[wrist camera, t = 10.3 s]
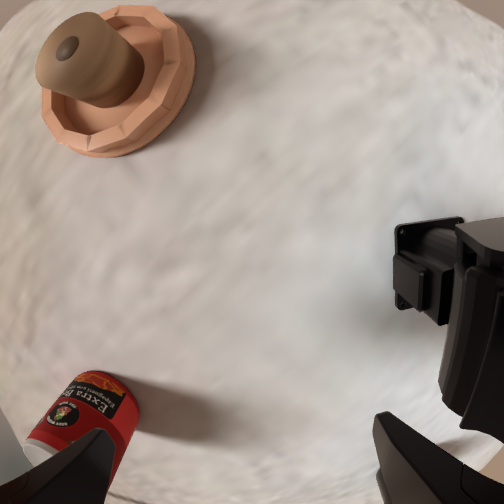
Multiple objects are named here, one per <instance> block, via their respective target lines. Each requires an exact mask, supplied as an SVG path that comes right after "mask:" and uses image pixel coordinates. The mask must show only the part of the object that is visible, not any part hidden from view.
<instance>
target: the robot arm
mask: <svg viewBox="0 0 504 504" xmlns="http://www.w3.org/2000/svg"><path fill="white" fill-rule="evenodd" d="M458 221H459V224H458ZM401 229H403V233H402V234H401V235H400V230H401ZM394 235H395V255H394V257H393V289H394V290H395V306H396V307H397V308H398V309H399V310H405V309H409V308H413V307H414V308H415V309H416V310H417V311H418V312H424V313H425V314H427V315H428V316H429V317H430V318H431V319H432V320H433V321H434V322H435V323H436V324H437V325H439V326H442V325H445V324H447V325H448V330H447V336H446V342H445V347H444V352H443V357H442V362H441V366H440V371H439V378H438V383H439V386H440V389H441V393H442V394H443V396H442V401H443V402H444V403H445V404H446V406H447V407H448V408H449V409H451V410H452V411H453V412H455V413H456V414H458V415H459V416H461V417H463V418H462V420H461V423H460V425H459V427H460V428H461V429H467V430H477V431H480V432H483V433H486V434H489V435H491V436H493V437H495V438H496V439H498V440H499V441H501V442H502V443H504V217H501V218H494V219H488V220H481V221H475V222H468V223H464V220H463V218H462V217H458V216H456V217H449V218H442V219H434V220H427V221H420V222H413V223H406V224H399V225H397V226H396V228H395V231H394ZM402 301H403V304H402V305H400V303H401V302H402ZM373 438H374V442H375V446H376V451H377V455H378V459H379V464H380V468H381V472H382V475H383V478H384V481H385V484H386V486H387V489H388V492H389V494H390V497H391V500H392V503H393V504H504V484H501V483H498V482H497V481H494V480H492V479H490V478H488V477H486V476H484V475H482V474H480V473H479V472H477V471H475V470H474V469H472V468H470V467H469V466H467V465H466V464H463V463H462V462H461V461H459V460H458V459H456V458H455V457H453V456H452V455H450V454H449V453H447V452H446V451H444V450H443V449H441V448H440V447H438V446H437V445H435V444H434V443H433V442H431V441H430V440H428V439H427V438H425V437H424V436H422V435H421V434H420V433H418V432H417V431H415V430H414V429H412V428H411V427H410V426H408V425H407V424H405V423H404V422H403V421H401V420H400V419H398V418H397V417H396V416H394V415H393V414H392V413H390V412H388V411H385V412H382V413H378V414H376V415H375V418H374V424H373ZM115 450H116V446H115V443H114V441H113V440H112V438H111V437H110V435H109V434H108V432H107V431H106V430H105V429H101V428H94V429H92V430H91V431H89V432H88V433H87V434H85V435H84V436H82V437H81V438H79V439H78V440H76V441H75V442H73V443H72V444H70V445H69V446H67V447H66V448H64V449H63V450H61V451H59V452H58V453H56V454H55V455H53V456H52V457H50V458H49V459H47V460H45V461H44V462H42V463H41V464H39V465H37V466H36V467H34V468H33V469H31V470H30V471H28V472H26V473H24V474H23V475H21V476H19V477H18V478H16V479H14V480H12V481H10V482H8V483H6V484H3V485H1V486H0V504H104V501H105V497H106V494H107V490H108V487H109V483H110V478H111V473H112V467H113V461H114V456H115Z"/></svg>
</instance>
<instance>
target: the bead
mask: <svg viewBox="0 0 504 504" xmlns="http://www.w3.org/2000/svg"><path fill="white" fill-rule="evenodd" d="M144 70H145V64H144V60H143V57H142V55H141V54H140V53H139V52H138V51H137V50H136V49H135V48H134V47H133V46H132V45H131V44H130V43H129V42H128V41H127V40H126V39H125V38H123V37H122V36H121V35H120V34H119V33H118V32H117V31H116V30H115V29H114V28H113V27H112V26H111V25H109V24H108V23H107V22H106V21H105V20H104V19H103V18H102V17H101V16H99V15H98V14H96V13H92V12H85V13H80V14H77V15H75V16H73V17H71V18H69V19H67V20H66V21H64V22H63V23H62V24H60V25H59V26H58V27H57V28H56V29H55V30H54V31H53V32H52V33H51V34H50V36H49V37H48V38H47V40H46V41H45V43H44V44H43V46H42V48H41V50H40V53H39V55H38V58H37V62H36V69H35V72H36V78H37V81H38V83H39V84H40V85H41V86H42V87H44V88H46V89H49V90H52V91H54V92H57V93H60V94H63V95H66V96H69V97H71V98H74V99H77V100H80V101H82V102H85V103H87V104H90V105H93V106H95V107H98V108H103V109H104V108H112V107H115V106H117V105H120V104H121V103H123V102H124V101H126V100H127V99H128V98H130V97H131V96H132V95H133V93H134V92H135V91H136V90H137V88H138V87H139V85H140V83H141V81H142V78H143V75H144Z"/></svg>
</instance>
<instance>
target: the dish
mask: <svg viewBox="0 0 504 504" xmlns="http://www.w3.org/2000/svg"><path fill="white" fill-rule="evenodd" d="M99 16H101V17H102V18H103V19H104V20H105V21H106V22H107V23H108V24H109V25H111V26H112V27H113V28H114V29H115V30H116V31H117V32H118V33H119V34H120V35H121V36H122V37H123V38H125V39H126V40H127V41H128V42H129V43H130V44H131V45H132V46H133V47H134V48H135V49H136V50H137V51H138V52H139V53H140V54H141V55H142V57H143V60H144V64H145V70H144V75H143V78H142V81H141V83H140V85H139V87H138V88H137V90H136V91H135V92H134V93H133V95H132V96H131V97H130V98H128V99H127V100H126V101H124V102H123V103H121V104H120V105H117V106H115V107H112V108H104V109H103V108H98V107H95V106H93V105H90V104H87V103H85V102H82V101H80V100H77V99H74V98H71V97H69V96H66V95H63V94H60V93H57V92H54V91H52V90H49V89H46V88H44V87H42V118H43V120H44V122H45V123H46V125H47V127H48V128H49V130H50V131H51V133H52V135H53V136H54V138H55V139H56V141H57V142H58V143H60V144H64V145H67V146H68V147H69V148H71V149H72V150H74V151H75V152H77V153H80V154H82V155H85V156H90V157H98V158H111V157H118V156H122V155H126V154H128V153H131V152H134V151H136V150H138V149H140V148H142V147H144V146H145V145H147V144H148V143H150V142H151V141H153V140H154V139H155V138H156V137H157V136H159V135H160V134H161V133H162V132H163V131H164V130H165V129H166V128H167V127H168V126H169V125H170V124H171V123H172V121H173V120H174V119H175V118H176V117H177V115H178V114H179V112H180V111H181V109H182V107H183V106H184V104H185V102H186V100H187V98H188V96H189V93H190V91H191V88H192V85H193V81H194V77H195V67H196V63H195V54H194V49H193V46H192V44H191V41H190V39H189V37H188V36H187V34H186V32H185V31H184V29H183V28H182V27H181V26H180V25H179V24H178V23H177V22H176V21H174V20H173V19H171V18H169V17H167V16H165V15H163V14H162V13H161V12H160V11H159V10H157V9H156V8H155V7H153V6H138V5H119V6H117V7H114V8H112V9H110V10H107V11H105V12H103V13H101V14H99Z"/></svg>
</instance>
